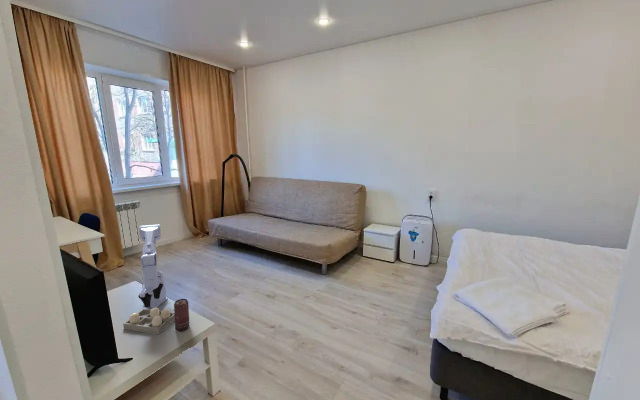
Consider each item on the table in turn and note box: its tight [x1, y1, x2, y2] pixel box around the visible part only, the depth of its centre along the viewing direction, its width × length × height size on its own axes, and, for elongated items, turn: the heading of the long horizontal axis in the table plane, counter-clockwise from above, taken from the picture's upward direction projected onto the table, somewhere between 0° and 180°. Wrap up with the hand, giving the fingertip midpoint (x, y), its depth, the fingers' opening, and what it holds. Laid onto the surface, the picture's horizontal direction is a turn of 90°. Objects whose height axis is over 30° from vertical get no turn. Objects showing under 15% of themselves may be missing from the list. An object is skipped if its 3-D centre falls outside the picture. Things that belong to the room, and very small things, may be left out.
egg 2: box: [150, 306, 160, 318], centre depth 134 cm, size 4×4×6 cm
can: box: [173, 298, 190, 333], centre depth 129 cm, size 6×6×14 cm
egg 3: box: [152, 316, 162, 328], centre depth 128 cm, size 4×4×6 cm
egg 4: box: [161, 308, 171, 320], centre depth 134 cm, size 4×4×6 cm
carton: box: [122, 308, 175, 335], centre depth 132 cm, size 12×18×3 cm
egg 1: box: [128, 312, 140, 324], centre depth 129 cm, size 4×4×6 cm
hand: (152, 302), depth 134 cm, fingers open, 7 cm apart
